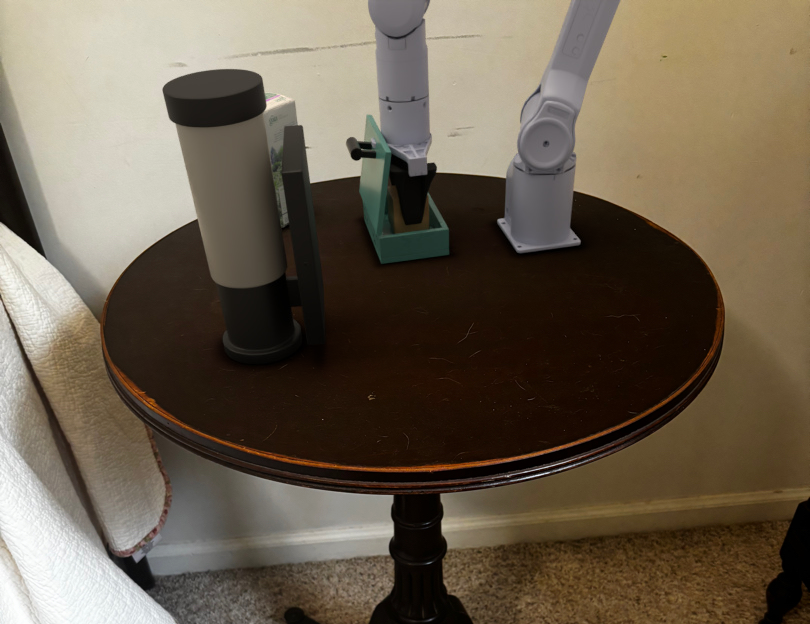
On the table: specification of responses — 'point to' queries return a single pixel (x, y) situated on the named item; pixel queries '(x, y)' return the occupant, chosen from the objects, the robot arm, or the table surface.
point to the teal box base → (410, 238)
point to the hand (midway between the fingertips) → (409, 215)
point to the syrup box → (278, 141)
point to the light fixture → (249, 213)
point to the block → (396, 215)
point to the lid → (372, 171)
